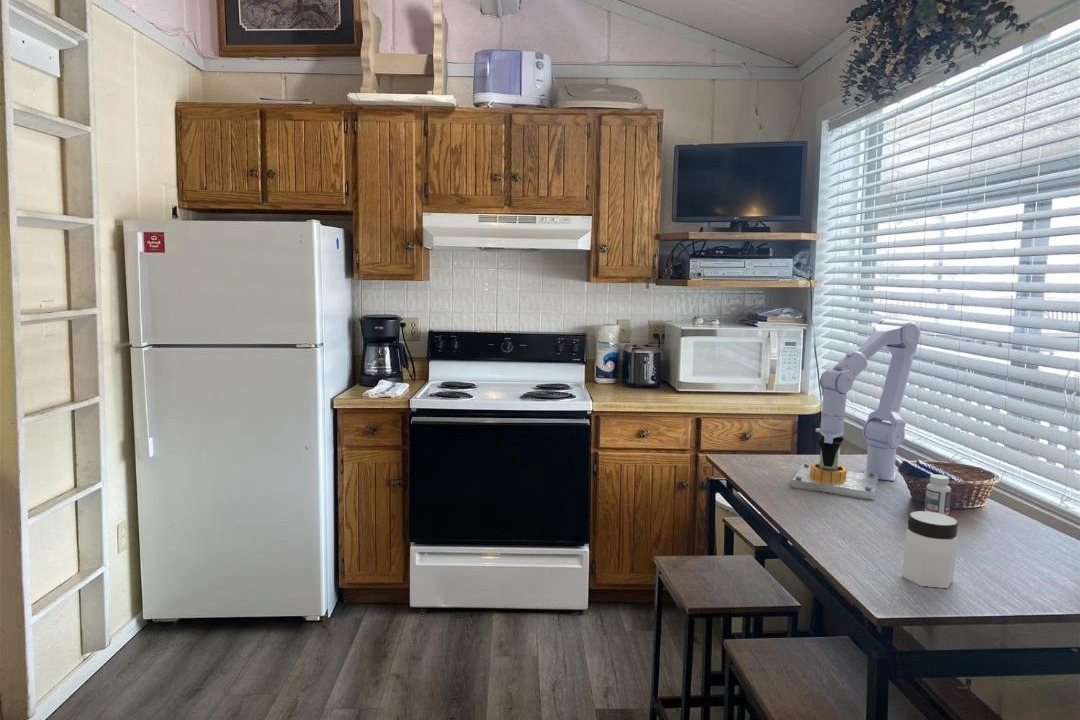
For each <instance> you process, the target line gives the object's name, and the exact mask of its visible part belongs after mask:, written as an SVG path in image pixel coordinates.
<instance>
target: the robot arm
mask: <svg viewBox="0 0 1080 720" xmlns="http://www.w3.org/2000/svg"><path fill="white" fill-rule="evenodd" d="M872 331H873V333H871V335H870V336H869V337H868V338H867V339H866V340H865V341H864V343H863V344H862V345H861V346H860V347H859V348H858V350H857V351H856V350H855V351H848V352H847V353H846V354H845V356H844V357H843V358H842V359H841V360H840V361H839V362H838V363H837V364H836V365H834V367H833V368H829V369H826V370H825V371H823V372H822V374H821V375H820V378H819V379H818V382H819V383H818V384H819V386H820V388H821V395H822V408H821V417H820V418H821V420H820V428H818V427H815V432H816V433H820V434H821V436H820V437H821V438H819V439H817V441H818V442H817V443H818V445H819V448H820V452H821V451H822V457H823V464H824V466H828V467H832V466H833V463H834V459H835V455H836V452H837V450H838V448H839V447H841V445H842V442H843V440H844V439H845V438H844V437H845V436H844V435H845V431H844V430H845V429H844V428H845V415H846V404H847V393H848V392H849V391H851V390H852V388H853V385H854V382H855V381H856V378H857V377H858V376H859V375H860V374H861V373H862V372H863V371H864V370H865V369H866V368H867V367H868V360H869V359H871V358H872V357H873V356H875V354H876V353H878V352H879V351H880V350H881V349H883V348H884V347H885V348H886V349H887V350H889V352H890V354H891V358H890V363H889V366H888V370H887V373H886V377H885V380H884V385H883V388H882V389H883V390H882V392H881V396H880V400H879V403H878V407H877V409H875V410H873V411H872V412H870V413H869V414H868V417H867V419H866V421H865V423H864V424H863V426H862V436H863V438H864V439H865V440H866V441H865V443H866V444H867V453H866V467H865V469H864V472H863V473H866V474H870V473H875V475H879V477H878V480H883V481H889V482H895V480H896V475H897V472H896V471H895V467H896V466H895V465H896V454H897V449H898V448H900V446H901V445H902V443H903V442H904V440H905V435H906V434H905V433H906V432H905V427H906V421H905V420H904V418H902V416H901V415H900V414H899V413H900V410H901V406H902V402H903V398H904V394H905V391H906V386H907V382H908V379H909V376H910V372H911V369H912V364H913V360H914V357H915V353H916V351H917V348H918V343H919V339H920V336H921V331H920V329H919V326H918V324H917V323H916V322H915V321H912V320H909V321H907V320H906V321H905V320H896V319H887V318H882V319H880V320H879V321H878V322H877V323H876V324H875V325H874V326H873V330H872ZM885 421H886V422H885Z"/></svg>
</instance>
